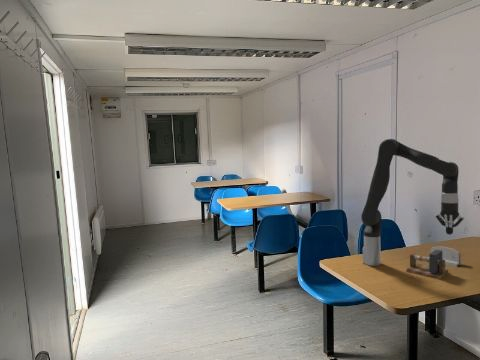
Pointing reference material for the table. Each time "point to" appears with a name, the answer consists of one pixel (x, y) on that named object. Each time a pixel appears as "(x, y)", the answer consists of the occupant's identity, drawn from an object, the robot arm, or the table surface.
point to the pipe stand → (426, 267)
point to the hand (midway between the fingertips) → (449, 234)
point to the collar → (434, 261)
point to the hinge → (449, 255)
